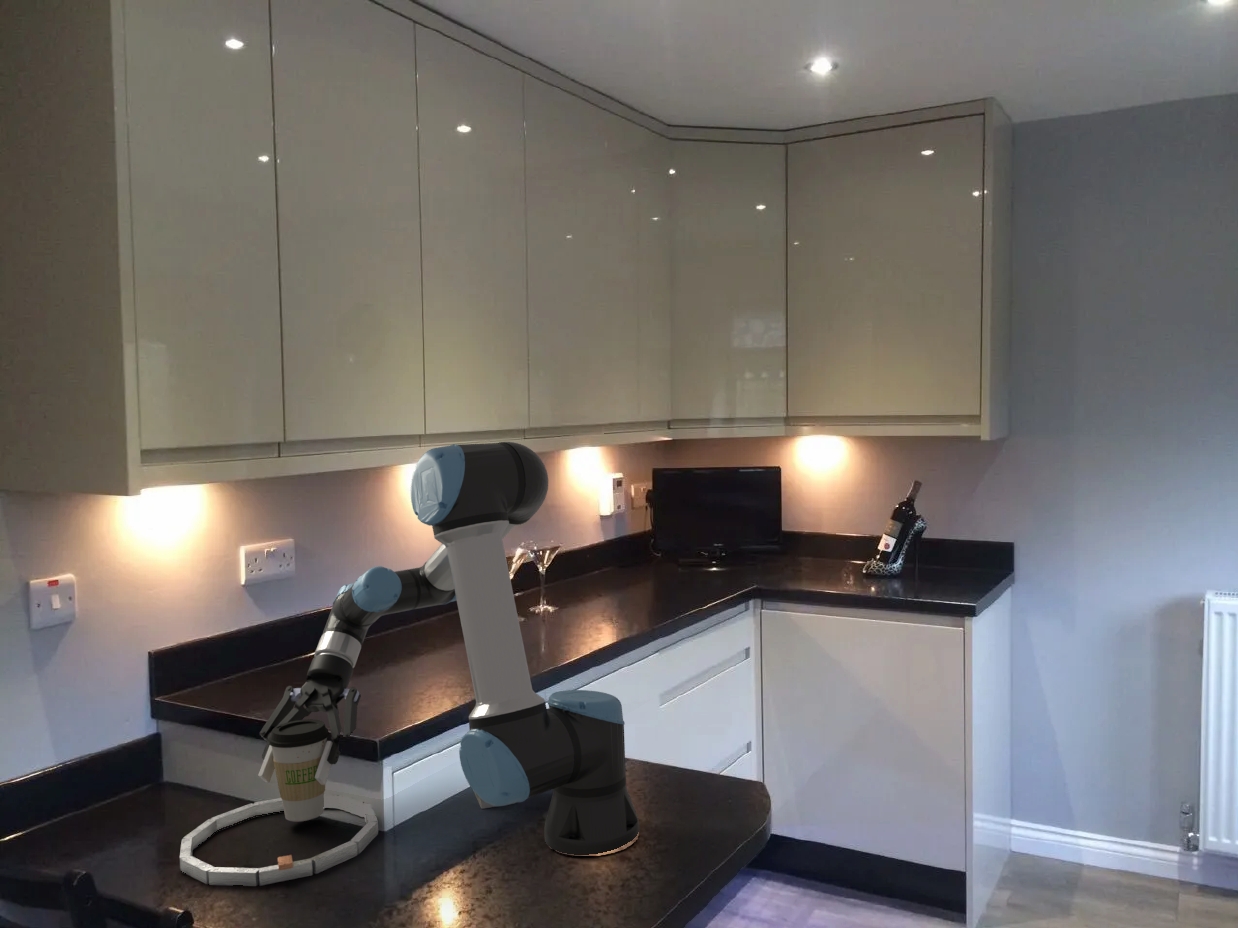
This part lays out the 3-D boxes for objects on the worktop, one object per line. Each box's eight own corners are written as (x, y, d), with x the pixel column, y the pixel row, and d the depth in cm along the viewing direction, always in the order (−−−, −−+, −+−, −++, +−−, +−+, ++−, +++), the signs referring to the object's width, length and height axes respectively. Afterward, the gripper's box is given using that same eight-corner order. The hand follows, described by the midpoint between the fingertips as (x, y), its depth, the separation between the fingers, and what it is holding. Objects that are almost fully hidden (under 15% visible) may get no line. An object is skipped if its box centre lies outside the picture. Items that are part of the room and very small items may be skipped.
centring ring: (389, 861, 154) (388, 843, 154) (176, 904, 143) (175, 885, 143) (364, 794, 182) (363, 778, 182) (185, 825, 172) (184, 809, 171)
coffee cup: (316, 826, 164) (310, 736, 163) (262, 824, 166) (255, 735, 165) (344, 803, 174) (338, 718, 173) (293, 802, 176) (287, 717, 175)
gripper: (398, 674, 181) (361, 792, 166) (287, 673, 186) (243, 787, 172) (382, 652, 176) (343, 772, 161) (269, 651, 181) (221, 768, 166)
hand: (291, 780), depth 166 cm, fingers closed on coffee cup, 10 cm apart
